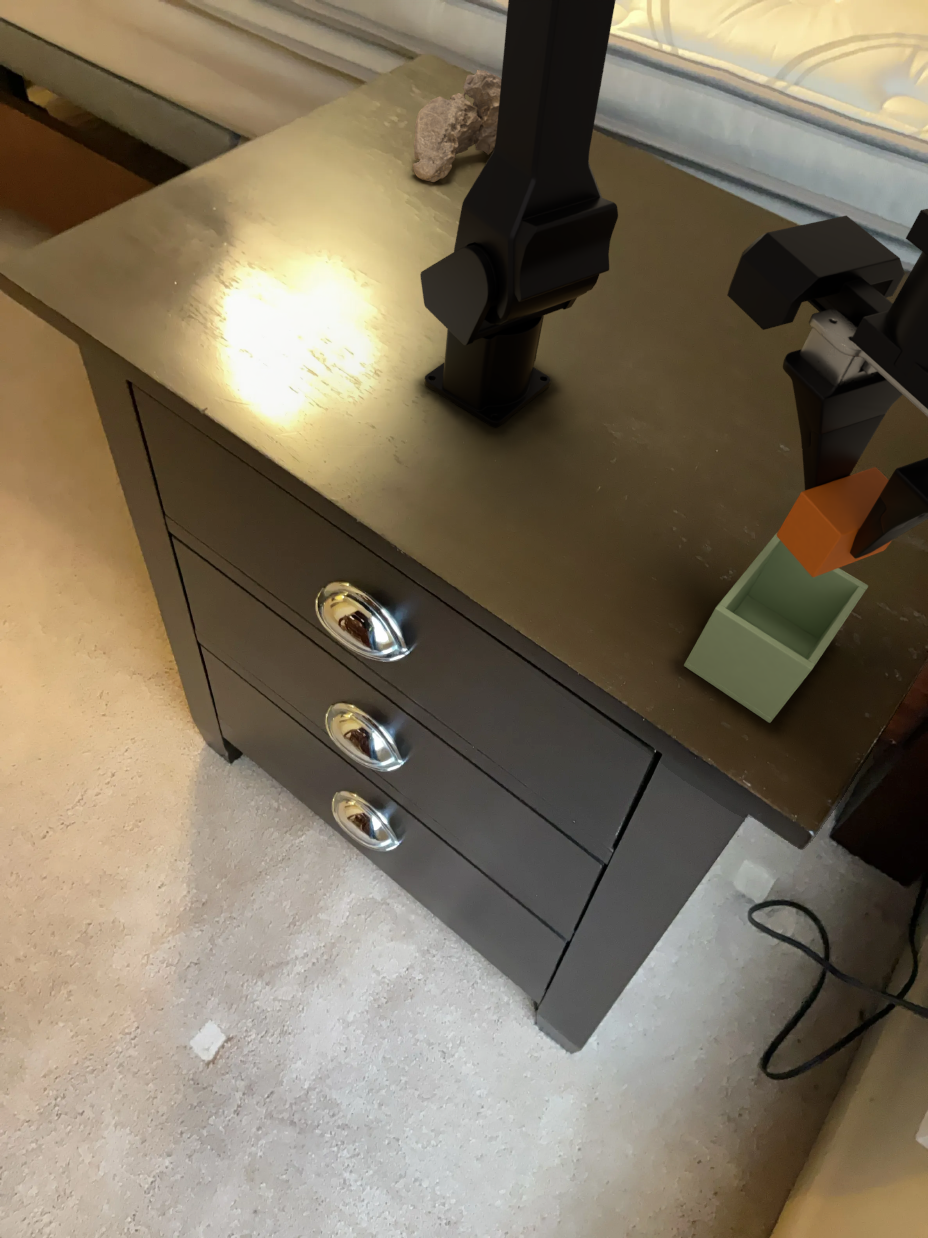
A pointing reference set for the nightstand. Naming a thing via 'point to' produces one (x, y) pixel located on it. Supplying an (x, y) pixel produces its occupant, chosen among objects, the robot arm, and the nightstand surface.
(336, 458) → the nightstand surface
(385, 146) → the nightstand surface
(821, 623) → the trash bin
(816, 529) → the orange block
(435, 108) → the rock
